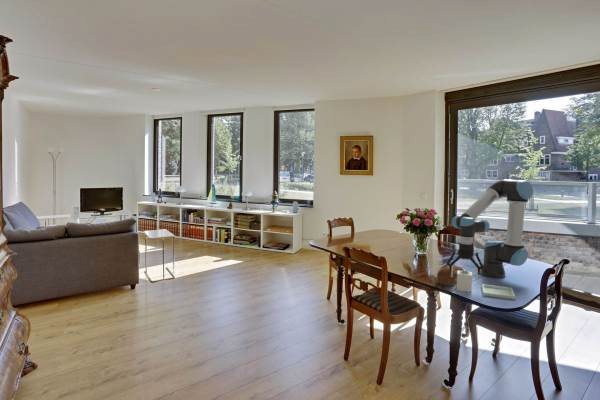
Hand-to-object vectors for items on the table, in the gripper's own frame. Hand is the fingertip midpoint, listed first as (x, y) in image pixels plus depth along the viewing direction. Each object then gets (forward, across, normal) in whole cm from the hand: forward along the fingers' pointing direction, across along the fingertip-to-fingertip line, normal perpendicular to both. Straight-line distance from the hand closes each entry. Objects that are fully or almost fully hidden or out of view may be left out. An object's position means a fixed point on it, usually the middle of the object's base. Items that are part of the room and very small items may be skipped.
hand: (463, 278), depth 226 cm
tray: (+7, +18, 0) cm, 19 cm away
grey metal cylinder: (+7, 0, 0) cm, 7 cm away
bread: (+7, -8, +12) cm, 16 cm away
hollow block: (+7, 0, 0) cm, 7 cm away
